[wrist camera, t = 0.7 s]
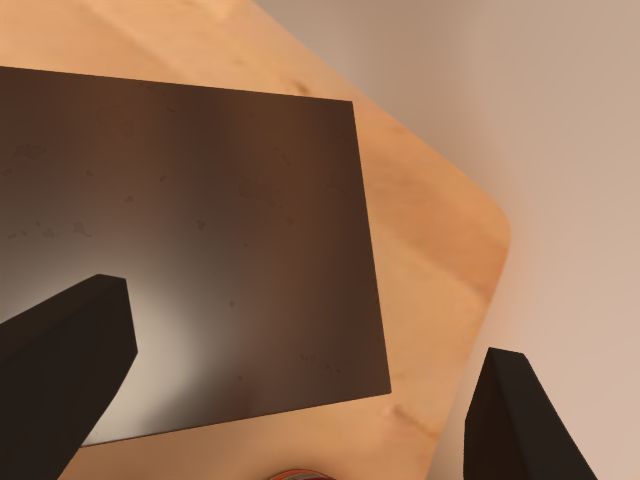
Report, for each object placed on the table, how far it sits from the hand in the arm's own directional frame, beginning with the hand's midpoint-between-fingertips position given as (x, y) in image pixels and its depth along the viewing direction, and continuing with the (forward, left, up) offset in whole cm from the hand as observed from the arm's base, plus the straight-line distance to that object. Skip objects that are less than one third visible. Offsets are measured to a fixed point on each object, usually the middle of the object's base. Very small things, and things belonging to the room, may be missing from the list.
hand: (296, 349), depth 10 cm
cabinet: (+1, +4, -16) cm, 17 cm away
